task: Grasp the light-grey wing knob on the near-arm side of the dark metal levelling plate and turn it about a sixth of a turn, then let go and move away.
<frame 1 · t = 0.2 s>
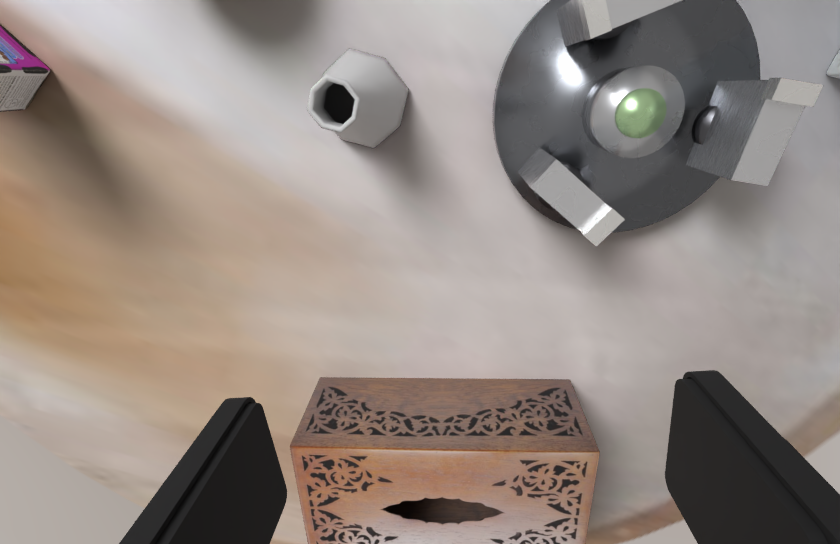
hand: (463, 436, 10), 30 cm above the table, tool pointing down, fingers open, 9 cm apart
levelling plate: (613, 109, 35), on the table
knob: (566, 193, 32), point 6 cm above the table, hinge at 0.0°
knob 1: (619, 2, 28), point 6 cm above the table, hinge at 0.0°
knob 2: (744, 130, 30), point 6 cm above the table, hinge at 0.0°
tissue box cover: (443, 430, 49), on the table
flask: (363, 99, 36), on the table
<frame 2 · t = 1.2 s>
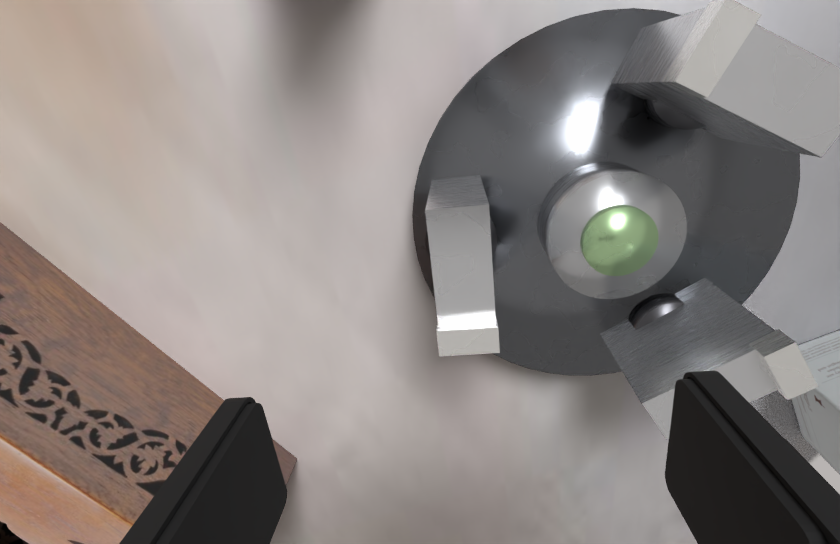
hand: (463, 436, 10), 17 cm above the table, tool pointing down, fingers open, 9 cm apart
levelling plate: (586, 211, 25), on the table
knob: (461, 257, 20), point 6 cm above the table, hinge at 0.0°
knob 1: (724, 84, 17), point 6 cm above the table, hinge at 0.0°
knob 2: (690, 355, 21), point 6 cm above the table, hinge at 0.0°
tissue box cover: (105, 397, 33), on the table
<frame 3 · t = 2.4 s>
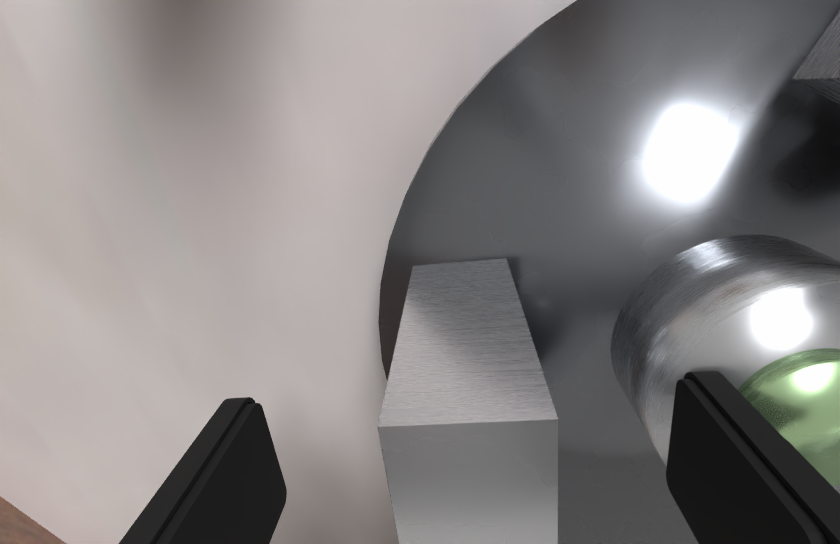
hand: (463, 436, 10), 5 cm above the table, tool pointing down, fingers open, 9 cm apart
levelling plate: (688, 306, 14), on the table
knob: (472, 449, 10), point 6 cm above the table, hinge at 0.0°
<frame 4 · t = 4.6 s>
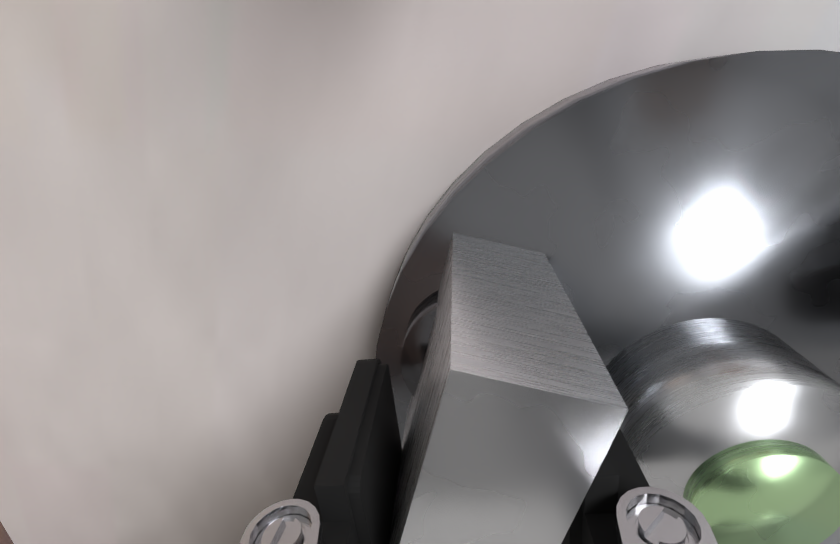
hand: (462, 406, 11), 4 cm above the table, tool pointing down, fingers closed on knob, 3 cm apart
levelling plate: (663, 368, 15), on the table
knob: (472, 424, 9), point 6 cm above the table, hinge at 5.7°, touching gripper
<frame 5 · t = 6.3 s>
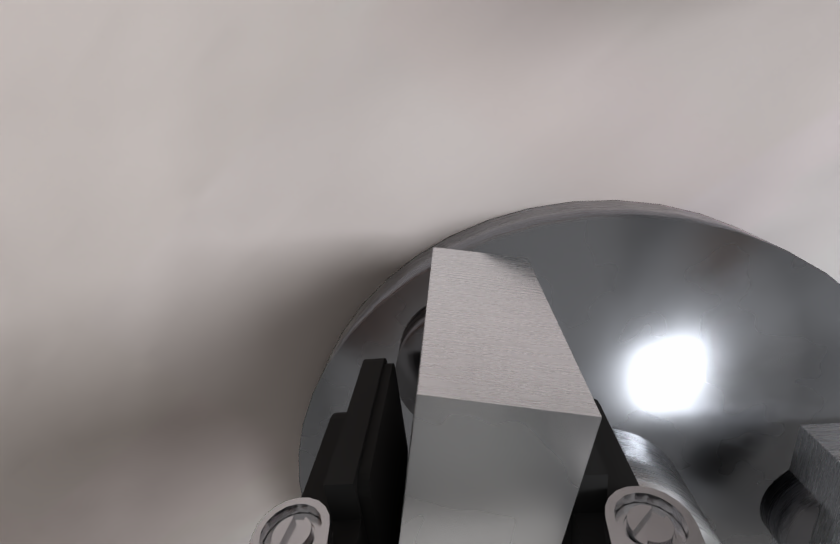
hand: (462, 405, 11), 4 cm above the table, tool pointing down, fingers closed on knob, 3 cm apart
levelling plate: (569, 454, 16), on the table
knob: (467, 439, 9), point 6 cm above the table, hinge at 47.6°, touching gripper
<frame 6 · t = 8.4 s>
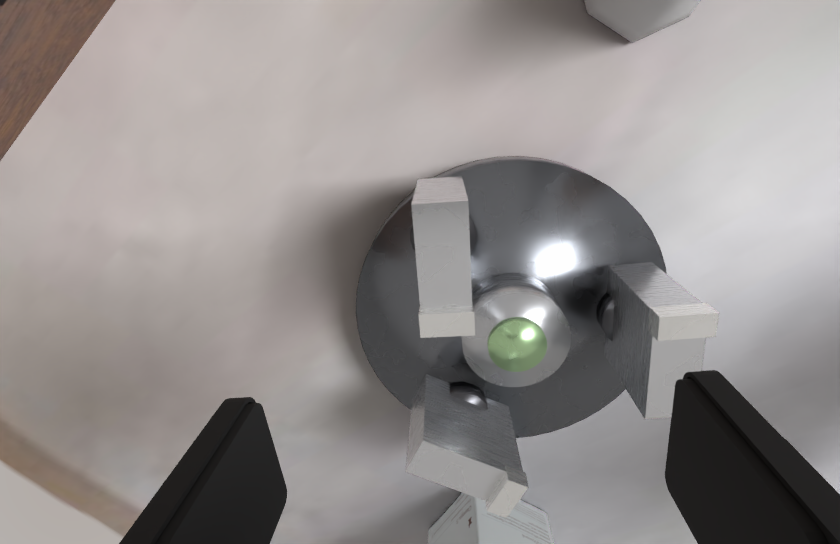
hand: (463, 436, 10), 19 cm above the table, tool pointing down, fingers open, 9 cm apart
supplement box: (485, 518, 37), on the table
levelling plate: (504, 303, 29), on the table
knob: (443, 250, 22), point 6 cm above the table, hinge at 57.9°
knob 1: (650, 337, 24), point 6 cm above the table, hinge at 0.0°
knob 2: (463, 439, 27), point 6 cm above the table, hinge at 0.0°
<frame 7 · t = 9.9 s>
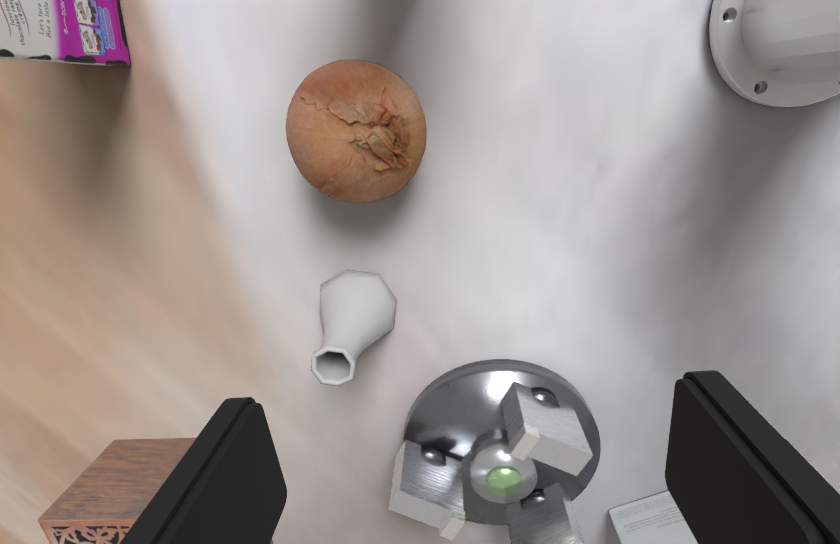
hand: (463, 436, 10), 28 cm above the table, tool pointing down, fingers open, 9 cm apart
supplement box: (649, 519, 48), on the table
levelling plate: (497, 439, 45), on the table
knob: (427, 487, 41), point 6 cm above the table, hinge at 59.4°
knob 1: (543, 428, 38), point 6 cm above the table, hinge at 0.0°
knob 2: (544, 531, 42), point 6 cm above the table, hinge at 0.0°
tissue box cover: (210, 522, 53), on the table
onion: (367, 129, 35), on the table
flask: (358, 304, 41), on the table
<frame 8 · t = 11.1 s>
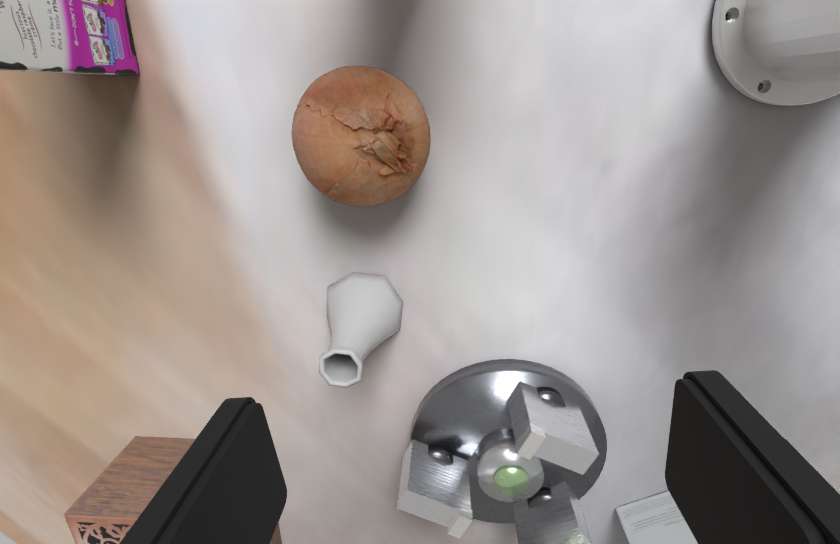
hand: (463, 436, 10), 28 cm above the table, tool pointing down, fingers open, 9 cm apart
supplement box: (657, 517, 49), on the table
levelling plate: (504, 438, 46), on the table
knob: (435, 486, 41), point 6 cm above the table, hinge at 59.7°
knob 1: (550, 427, 38), point 6 cm above the table, hinge at 0.0°
knob 2: (551, 529, 42), point 6 cm above the table, hinge at 0.0°
tissue box cover: (221, 521, 53), on the table
onion: (372, 134, 35), on the table
flask: (365, 306, 41), on the table
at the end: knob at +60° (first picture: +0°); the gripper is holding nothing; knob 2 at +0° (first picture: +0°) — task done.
